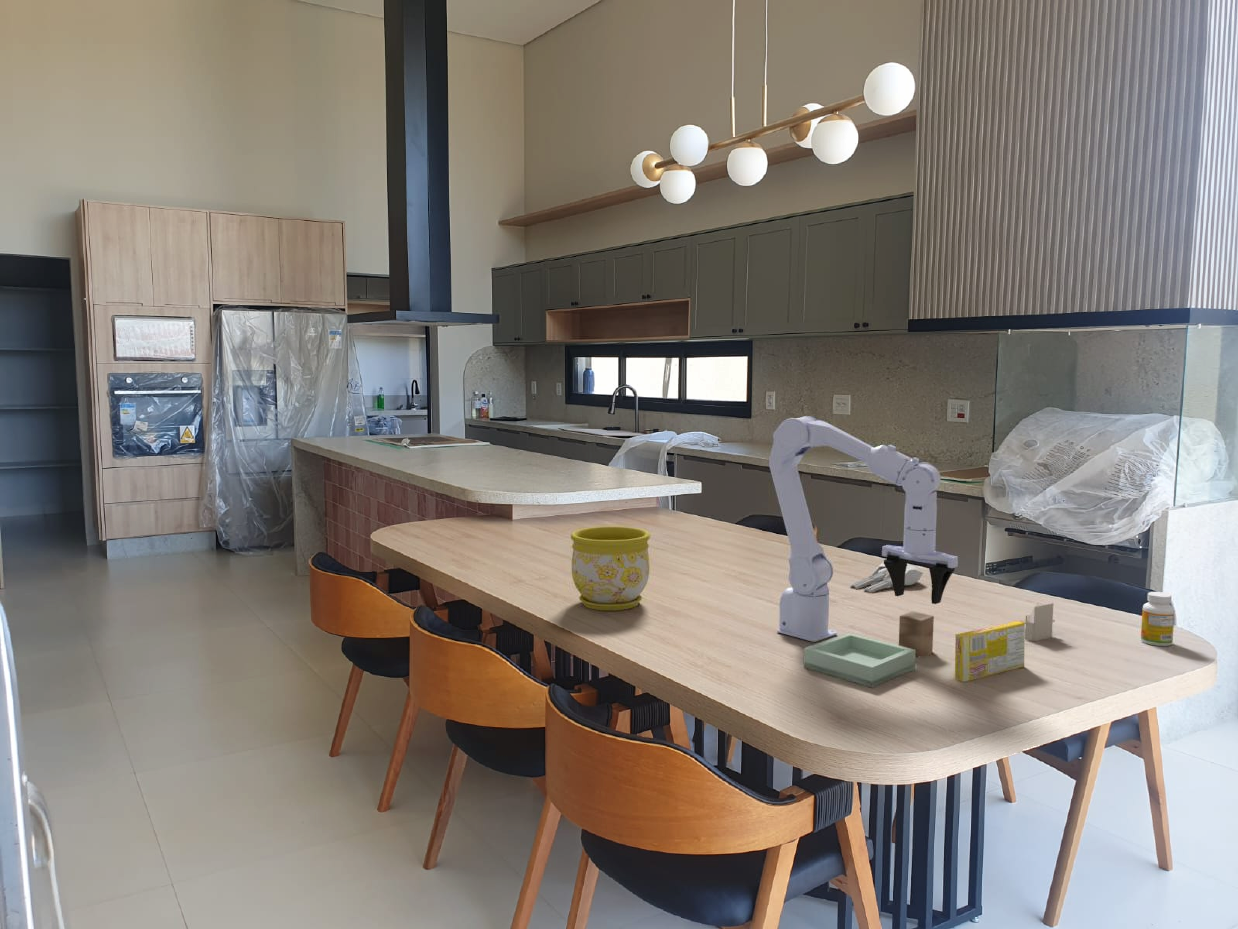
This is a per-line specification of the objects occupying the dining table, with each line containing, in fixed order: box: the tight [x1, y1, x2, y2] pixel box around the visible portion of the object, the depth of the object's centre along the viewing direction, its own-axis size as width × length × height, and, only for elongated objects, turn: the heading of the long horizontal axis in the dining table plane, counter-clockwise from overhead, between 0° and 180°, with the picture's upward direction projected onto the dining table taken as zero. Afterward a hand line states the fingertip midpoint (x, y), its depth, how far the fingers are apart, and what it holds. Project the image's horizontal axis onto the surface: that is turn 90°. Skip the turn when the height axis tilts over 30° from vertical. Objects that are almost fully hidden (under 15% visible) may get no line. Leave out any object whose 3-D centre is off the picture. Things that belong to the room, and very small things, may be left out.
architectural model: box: [1019, 602, 1056, 642], centre depth 180 cm, size 3×7×7 cm, turn 119°
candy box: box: [954, 620, 1026, 683], centre depth 159 cm, size 16×2×8 cm, turn 119°
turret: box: [850, 561, 924, 594], centre depth 223 cm, size 10×20×5 cm, turn 123°
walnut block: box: [898, 611, 935, 658], centre depth 171 cm, size 4×4×7 cm
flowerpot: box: [570, 525, 651, 611], centre depth 205 cm, size 18×18×16 cm
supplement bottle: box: [1140, 591, 1176, 647], centre depth 176 cm, size 5×5×10 cm
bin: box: [803, 632, 916, 688], centre depth 162 cm, size 14×14×4 cm
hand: (917, 599), depth 170 cm, fingers open, 7 cm apart
